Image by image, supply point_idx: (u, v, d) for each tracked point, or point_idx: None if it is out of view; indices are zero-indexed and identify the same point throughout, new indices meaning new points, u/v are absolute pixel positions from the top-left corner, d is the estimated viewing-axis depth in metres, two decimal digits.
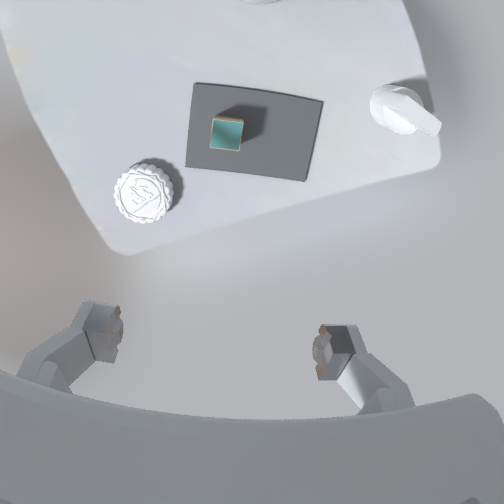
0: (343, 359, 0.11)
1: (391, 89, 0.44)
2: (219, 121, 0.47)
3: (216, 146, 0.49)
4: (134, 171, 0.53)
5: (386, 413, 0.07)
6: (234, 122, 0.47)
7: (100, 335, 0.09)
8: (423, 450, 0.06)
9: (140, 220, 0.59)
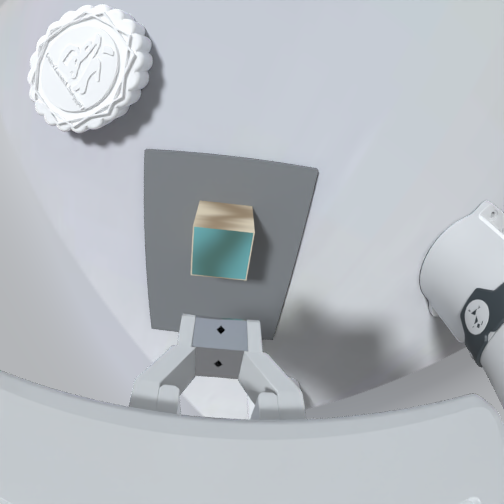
0: (235, 356, 0.10)
1: None
2: (249, 242, 0.25)
3: (196, 238, 0.25)
4: (135, 47, 0.18)
5: (386, 413, 0.07)
6: (246, 267, 0.27)
7: (213, 350, 0.10)
8: (423, 450, 0.06)
9: (32, 72, 0.18)
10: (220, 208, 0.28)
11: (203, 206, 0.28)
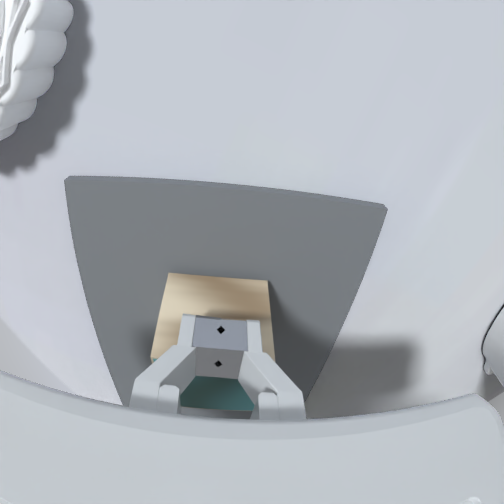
0: (235, 356, 0.10)
1: None
2: None
3: None
4: None
5: (386, 413, 0.07)
6: None
7: (213, 350, 0.10)
8: (423, 450, 0.06)
9: None
10: (206, 294, 0.14)
11: (174, 291, 0.14)
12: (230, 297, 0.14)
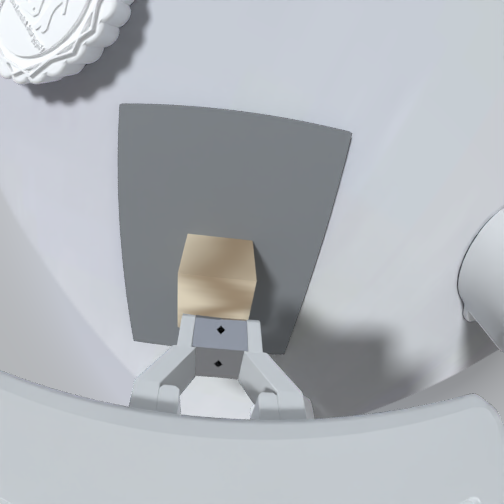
0: (235, 356, 0.10)
1: None
2: None
3: None
4: None
5: (386, 413, 0.07)
6: None
7: (213, 350, 0.10)
8: (423, 450, 0.06)
9: None
10: (208, 292, 0.20)
11: (184, 289, 0.20)
12: (225, 294, 0.20)
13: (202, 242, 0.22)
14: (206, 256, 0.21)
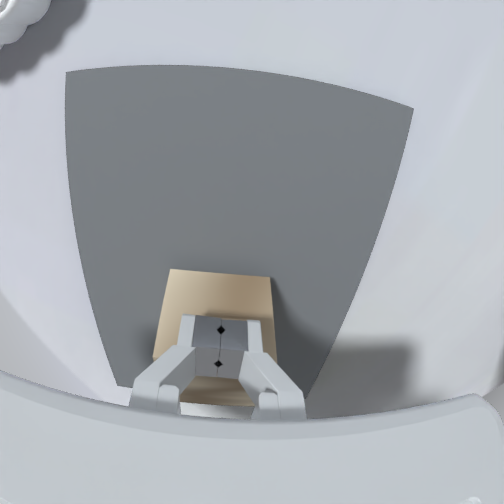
0: (235, 356, 0.10)
1: None
2: None
3: None
4: None
5: (386, 413, 0.07)
6: None
7: (213, 350, 0.10)
8: (423, 450, 0.06)
9: None
10: None
11: None
12: (228, 378, 0.12)
13: (192, 287, 0.14)
14: None
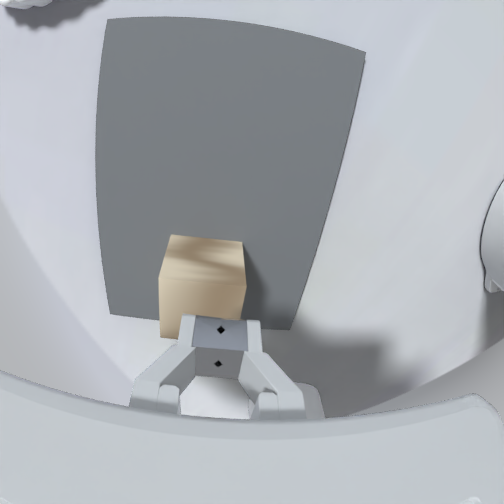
0: (235, 356, 0.10)
1: None
2: None
3: None
4: None
5: (386, 413, 0.07)
6: None
7: (213, 350, 0.10)
8: (423, 450, 0.06)
9: None
10: None
11: None
12: None
13: (179, 295, 0.17)
14: None
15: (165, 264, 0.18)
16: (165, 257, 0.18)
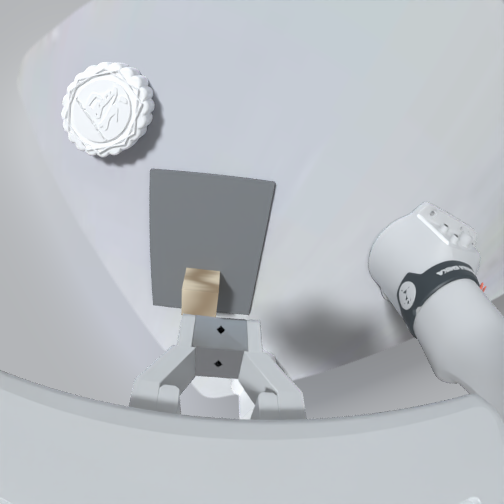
0: (235, 356, 0.10)
1: None
2: None
3: None
4: (142, 98, 0.29)
5: (386, 413, 0.07)
6: None
7: (213, 350, 0.10)
8: (423, 450, 0.06)
9: (65, 110, 0.29)
10: None
11: None
12: None
13: (190, 296, 0.41)
14: (193, 306, 0.42)
15: (184, 283, 0.42)
16: (184, 279, 0.42)
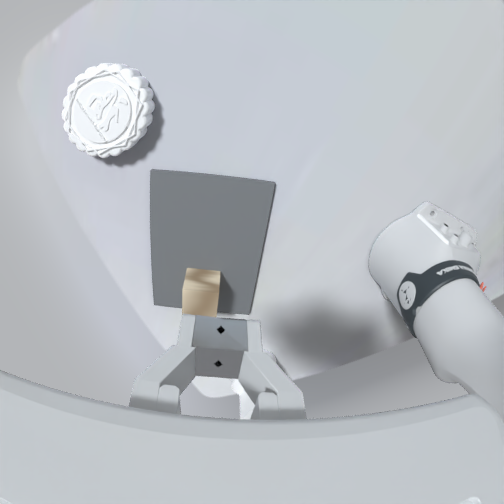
0: (235, 356, 0.10)
1: None
2: None
3: None
4: (142, 99, 0.30)
5: (386, 413, 0.07)
6: None
7: (213, 350, 0.10)
8: (423, 450, 0.06)
9: (65, 111, 0.29)
10: None
11: None
12: None
13: (191, 296, 0.42)
14: (193, 305, 0.43)
15: (185, 283, 0.42)
16: (185, 279, 0.43)
